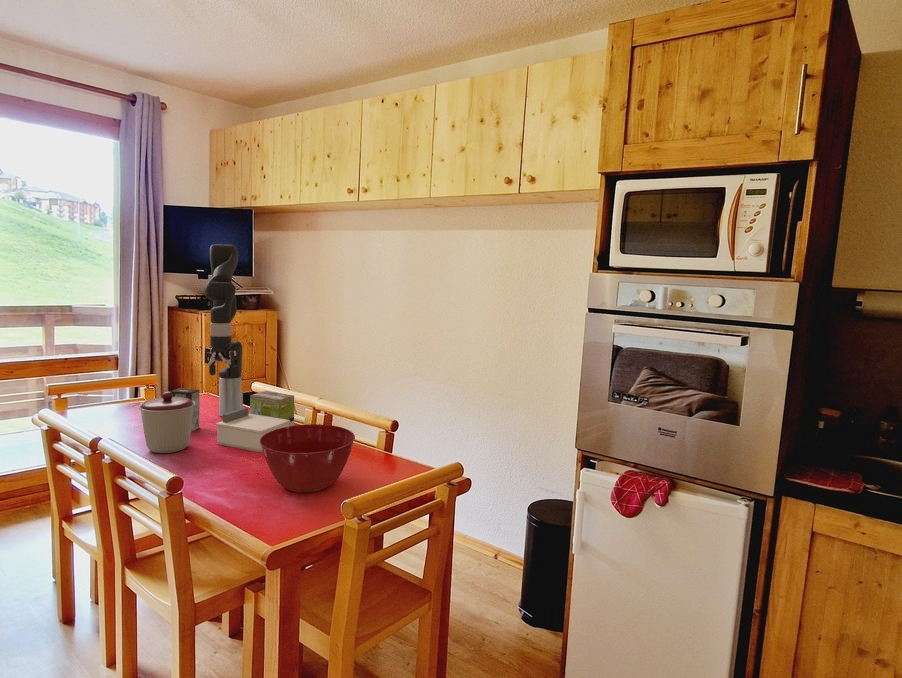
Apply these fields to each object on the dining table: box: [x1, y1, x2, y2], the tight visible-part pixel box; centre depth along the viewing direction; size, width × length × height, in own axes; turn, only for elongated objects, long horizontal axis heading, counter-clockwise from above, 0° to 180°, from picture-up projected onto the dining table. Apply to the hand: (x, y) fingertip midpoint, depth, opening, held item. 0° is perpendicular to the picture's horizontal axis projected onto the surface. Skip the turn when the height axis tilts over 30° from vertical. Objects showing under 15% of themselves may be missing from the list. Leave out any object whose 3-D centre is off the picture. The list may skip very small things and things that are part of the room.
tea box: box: [249, 390, 295, 426], centre depth 225 cm, size 15×10×15 cm
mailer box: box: [216, 423, 289, 453], centre depth 208 cm, size 20×16×7 cm
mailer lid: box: [215, 407, 290, 433], centre depth 207 cm, size 21×17×4 cm
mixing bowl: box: [260, 423, 356, 494], centre depth 169 cm, size 28×28×16 cm
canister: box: [138, 391, 196, 454], centre depth 195 cm, size 18×18×21 cm
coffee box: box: [170, 387, 201, 433], centre depth 220 cm, size 9×6×16 cm
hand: (221, 376), depth 210 cm, fingers open, 8 cm apart
